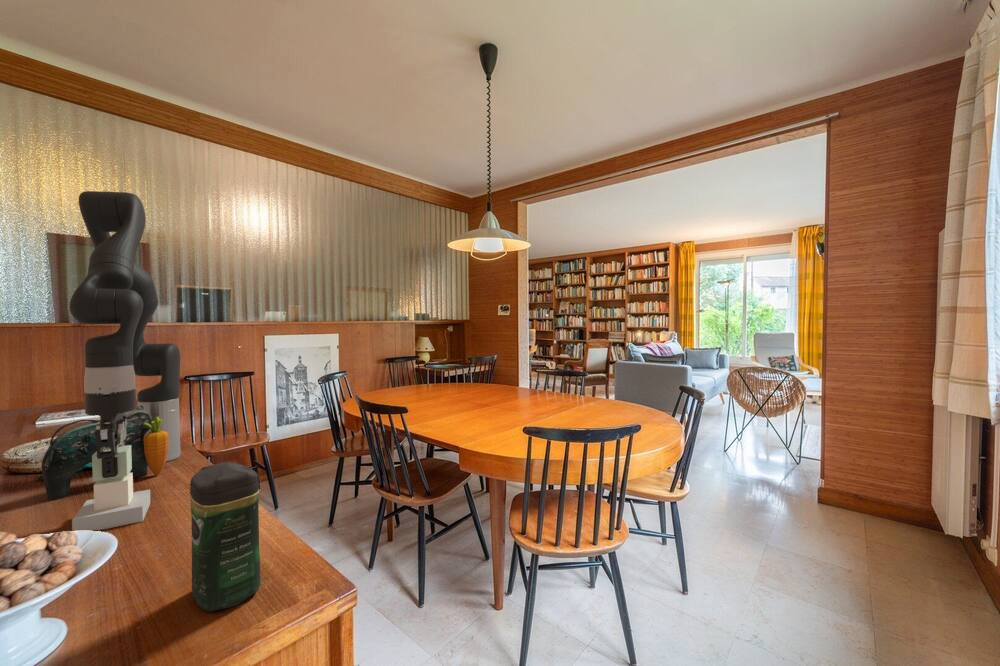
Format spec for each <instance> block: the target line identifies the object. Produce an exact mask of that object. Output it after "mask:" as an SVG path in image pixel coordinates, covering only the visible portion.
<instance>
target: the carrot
mask: <svg viewBox="0 0 1000 666" xmlns="http://www.w3.org/2000/svg"><path fill="white" fill-rule="evenodd" d="M162 422H163V420H162V419H159V417H155V422H154V421H152V422H151V423H152V426H151V425H150V424H148V423H144V424H143V425H145V426H147V427H149V428H150V429H151V431H152V432H149V433H148V434H146V435H145V436H144V452H145V457H146V461H147V467H148V468H149V470H150V471H151V472H152V473H153V475H155V476H156V475H158V476H159V475H160V474H161V473H162V471H163V469H164V467H165V464H166V462H167V461H166V458H167V453H168V439H169V435H168V433H167V432H166V431H160V426H161V424H162ZM155 423H156V424H155Z"/></svg>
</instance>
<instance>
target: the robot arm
mask: <svg viewBox="0 0 1000 666" xmlns="http://www.w3.org/2000/svg"><path fill="white" fill-rule="evenodd" d="M78 206H79V211H80V213H81V214H80V215H81V218H82V219H83V222H84V225H85V228H86V231H87V233H88V234H89V237H90V239H91V241H92V244H93V247H94V249H93V251H92V252H91V254H90V258H89V261H88V269H87V275H86V277H84V279H83V281H82V282H81V283H80V284H79V286H78V287H77V288H76V289H75V291H74V292H73V294H72V296H71V297H70V300H69V312H70V315H71V316H72V317H73V318H74V320H76V321H77V322H79V323H80V324H81V323H82V324H84V325H85V324H86V325H87V324H88V325H119V328H118V329H117V331H115V332H113V333H111V334H110V333H109V334H105V335H98V336H93V337H90V338H88V339H87V340H86V341H85V343H84V359H85V372H84V379H83V383H84V385H83V387H84V390H83V392H84V413H85V415H88V416H92V417H95V416H98V417H100V419H99V420H100V424H97V425H96V430H95V432H94V434H95V439H96V449H97V458H98V459H100V460H101V459H102V477H103V478H110V477H115V476H117V474H118V458H117V457H118V454H119V453H118V447H119V446H125V445H124V444H126V442H127V439H126V435H127V434H126V425H127V417H126V415H125V416H123V414H122V413H125V412H129V411H134V410H136V409H137V408H138V407H139V405H142V406H143V407H144V409H145V411H146V412H147V413H149V414H150V415H151V418H152V421H154V422H155V417H159V419H162V420H163V422H162V424H161V426H160V431H166V432H167V433H168V435H169V439H168V453H167V458H166V462H170V461H173V460H175V459H177V458H180V457H181V425H180V423H181V422H180V421H181V420H180V385H181V384H180V378H181V377H180V373H181V372H180V371H181V352H180V349H179V347H178V346H177V344H175V343H170V342H169V343H167V342H166V343H147V342H146V341H145V338H144V331H145V329H146V327H147V325H148V323H149V321H150V320H151V318H152V317H153V315H154V314H155V312H156V310H157V308H158V304H159V298H158V294H157V290H156V286H155V283H154V279H153V278H152V276H151V275H150V274H149V273H148V271H146V270H145V269H144V268H143V267H142V266H140V265H139V264H138V263H137V262H135V258H136V254H137V252H138V249H139V246H140V243H141V241H142V237H143V235H144V231H145V228H146V220H147V218H146V212H145V211H146V210H145V209H144V204H143V203H142V200H141V199H140V197H139V196H138V195H136V194H134V193H131V192H121V191H102V190H101V191H96V190H94V191H93V190H90V191H89V190H87V191H82V192H80V194H79V196H78ZM110 233H113V234H112V235H111V234H110ZM136 376H137V377H160V376H161V378H160V381H158V383H156V384H155V385H153V386H150V387H146V388H143V389H140V390H139V391H138V392H137V388H136V387H137V385H136ZM155 424H156V423H155ZM149 432H152V431H151V429H149V431H148V432H147V433H146V434H148V433H149ZM146 434H145V435H146ZM145 435H144V436H145ZM105 447H107V448H111V451H105Z"/></svg>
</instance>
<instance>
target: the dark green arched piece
mask: <svg viewBox="0 0 1000 666" xmlns="http://www.w3.org/2000/svg"><path fill="white" fill-rule="evenodd" d="M122 414H123V416H125V415H126V417H127V425H126V434H127V435H126V439H127V442H126V444H124V445H125V446H127V445H131V455H132V469H131V471H130V472H129V473H132V472H133V480H134V478H135V479H137V478H139V477H144V476H147V475H148V464H147V461H146V457H145V452H144V435H145V434H146V433H147V432H148V431H149V429H150V428H149V427H147V426H145V425H143V424H144V423H148V424H150V425H151V426H152V423H151V422H152V418H151V415H150V414H149V413H147V412H146V411H145V409H144V407H143V406H142V405H139V407H138V406H137V407H136V408H135V409H134V410H132V411H129V412H125V413H122ZM83 422H89V423H86V424H82V425H79V426H75V427H72V428H69V429H67V430H66V431H64V432H63V433H61V434H59V435H58V436H57V437H55V436H56V435H57V433H59V432H60V431H61V430H63V429H64V428H66V427H68V426H71V425H74V424H77V423H83ZM97 424H100V419H99V420H95V419H79V420H75V421H72V422H68V423H66V424H64V425H61V426H60V427H59V428H58V429H56V430H55V431H54V432H53V434H52V436H51V438H50V440H49V446H48V447H47V450H46V452H44V455H43V458H42V461H41V476H42V479H43V484H44V487H45V492H46V497H47V499H49V500H51V501H55V500H59V499H63V498H67V497H70V496H71V483H72V478H73V477H74V476H75V474H76V473H77V472H78V471H79V470H80V469H82V468H84V467H85V466H87V465H89V464H92V455H93V454H94V453H95V452H96V451H97V449H96V439H95V434H94V432H95V430H96V425H97ZM105 448H107V447H105Z"/></svg>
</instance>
